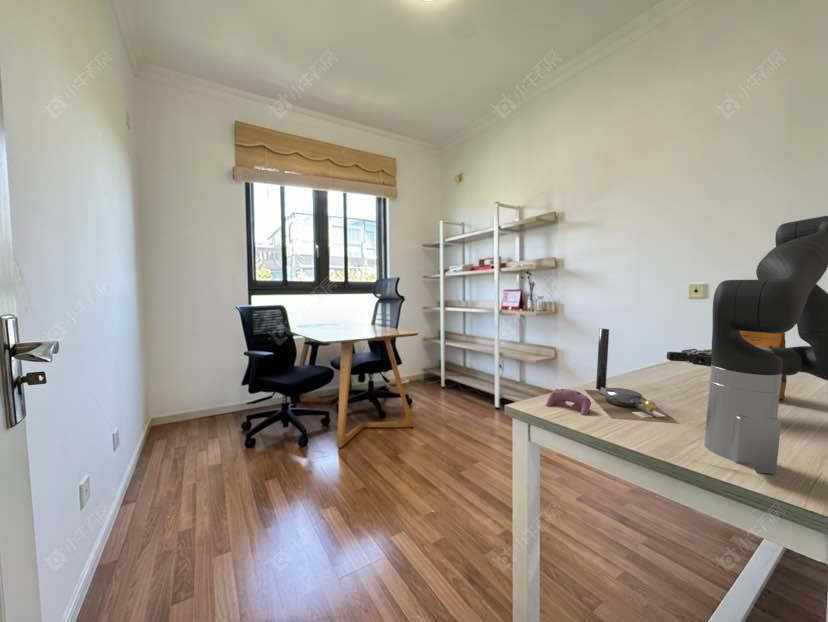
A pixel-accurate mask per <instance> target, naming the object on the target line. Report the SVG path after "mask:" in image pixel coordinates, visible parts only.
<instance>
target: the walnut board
mask: <svg viewBox="0 0 828 622" xmlns="http://www.w3.org/2000/svg"><path fill="white" fill-rule="evenodd" d="M583 390H584V392H586V394H587V395H588V396H589V397H590V398H591V399H592V400H593V401H594V402H595V403H596V404H597V405H598V406H599V408H601V410H603V411H604V412H605V413H606V414H607V415H608V416H609V417H610V418H611V419H614V420H615V419H617V420H630V421H642V422H645V421H646V422H654V423H656V422H657V423H665V424H666V423H667V424H669V423H670V424H681V423H680V422H678V421H677V420H676V419H675V418H673V417H672V416H670V415H669V414H667V413H666V412H665V411H663V410H662V409H660V408H659V407H658V406H656V409H655V410H654V411H653V413H649V412H647V411H644V410H642V409H640V408H638V407H636V408H630V407H622V406H617V405H614V404H611V403H609V402H607V401H606V400H605V395H603V394H601V393H599V392H598V389H583ZM646 401H649V400H648V399H646V398H645V397H644V396H642V404H643V405H644V403H645V402H646Z"/></svg>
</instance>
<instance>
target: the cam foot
mask: <svg viewBox="0 0 828 622" xmlns="http://www.w3.org/2000/svg"><path fill="white" fill-rule="evenodd" d="M598 330H599V331H598V348H597V362H596V363H597V368H596V385H595V390H598V392H599V393H601V394H603V395H605V400H606V401H607V402H609V403H611V404H614V405H617V406H622V407H630V408H636V407H638V408H640V409H642V410H644V411H647V412H649V413H653V411H654V410H655V409H656V407H657V404H656V403H655V402H654V401H652V400H648V401H646V402H645V403H644V405H643V404H642V397H643V394H642V393H641V392H638V391H636V390H633V389H629V388H623V387H607V376H608V374H607V372H608V359H609V357H608V356H609V342H610V341H609V339H610V329H609V328H599V329H598Z"/></svg>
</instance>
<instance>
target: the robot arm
mask: <svg viewBox="0 0 828 622" xmlns="http://www.w3.org/2000/svg"><path fill="white" fill-rule="evenodd" d="M827 269H828V215H822V216H816V217H812V218H806V219H800V220H796V221H795V220H794V221H789V222H785V223H784V222H783V223H782V224H781V225H779V226H778V228H777V229H776V232H775V247H774V248H772V249H771V250H770V251H769V252H767V254H766V255H764V257H763V258H762V259H761V260H760V262H758V264H757V267H756V272H755V273H756V279H726V280H723V281H721V282H720V283H719V284H718V285H717V286H716V289H715V291H714V294H713V299H712V331H711V333H712V336H711V337H712V338H711V349H696V348H690V349H683V350H681V351H667V352H666V360H668V361H671V362H685V363H687V364H692V365H695V366H696V365H698V366H703V367H710V374H709V387H708V399H707V410H706V419H705V433H704V447H705V448H706V449H707V450H708V451H710V452H712V453H713V454H715V455H717V456H719V457H722V458H725V459H727V460H730V461H731V462H733V463H734V464H738V465H739V464H741V465H751V466H752V467H753V469H754V471H755V473H758V474H759V473H760V474H771V475H776V474H777V467H778V457H779V448H780V438H781V428H782V421H781V420H780V419H778V414H779V413H778V412H779V403H780V399H779V395H780V386H781V377H782V376H786V377H787V376H794V375H796V374H798V373H804V374H805V373H806V374H809V375H811V376H814V377H816V378H820V379H822V380H824V381H826V382H827V381H828V293H827V291H826V290H825V289H823V288H822V287H821V286H819V284H817V283H818V282H820V280H821V279H822V277H823V276H824V274H825V273H826V271H827ZM795 326H796V328H797V333H798V336H799V338H800V339H801V340H802V341H804V342H805V343H807V344H808V345H809V346H808V345H801V346H790V347H789V346H788V347H786V348H776V347H760V346H754V345H752V344H751V343H749V342H748V341H746V340H745V339H744V338H743V337H742V336H741V334H740V330H741V331H751V332H763V333H783V332H785V333H786V332H789V331H790V330H792V329H793V328H794V327H795Z"/></svg>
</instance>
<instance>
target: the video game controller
mask: <svg viewBox="0 0 828 622" xmlns="http://www.w3.org/2000/svg"><path fill="white" fill-rule="evenodd" d="M567 402H568V403H573V404H572V405H570V409H574V410H579V411H580V415H581V416H587V415H589V413H590V410H591V409H590V407H591V406H592V401H591V400H590V398H589V397H587V395H585V394H584V393H581V392H579V391H578V390H572V389H568V388H561V389H560V388H556V389H554V390H553V391H552V392H551V393H550V395H549V396H548V398H547V401H546V403H545V407H547V408H549V407H552V406H555V405H556V406H560V407H564V408H567V407H568V405H567Z"/></svg>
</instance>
